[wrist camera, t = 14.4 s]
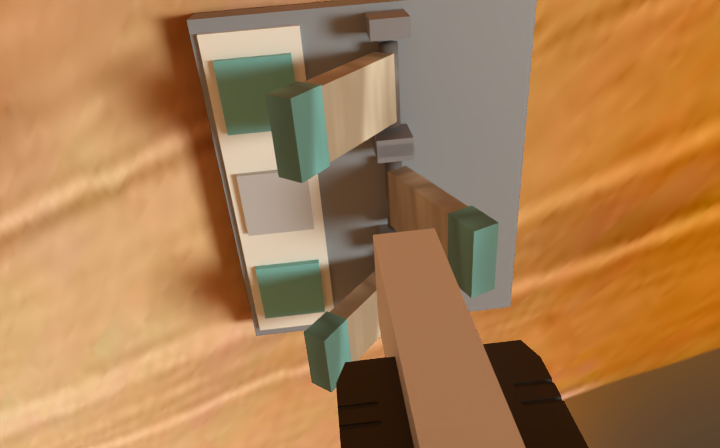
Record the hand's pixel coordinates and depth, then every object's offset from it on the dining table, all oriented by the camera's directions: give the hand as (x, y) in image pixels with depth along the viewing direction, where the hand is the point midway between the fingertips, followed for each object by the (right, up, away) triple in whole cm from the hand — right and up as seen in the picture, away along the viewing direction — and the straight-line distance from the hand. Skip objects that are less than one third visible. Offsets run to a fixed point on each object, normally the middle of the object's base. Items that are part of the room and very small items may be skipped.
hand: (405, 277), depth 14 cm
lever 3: (+1, +3, +19) cm, 19 cm away
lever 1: (0, +9, +15) cm, 18 cm away
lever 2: (+1, -2, +22) cm, 22 cm away
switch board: (0, +4, +21) cm, 22 cm away
